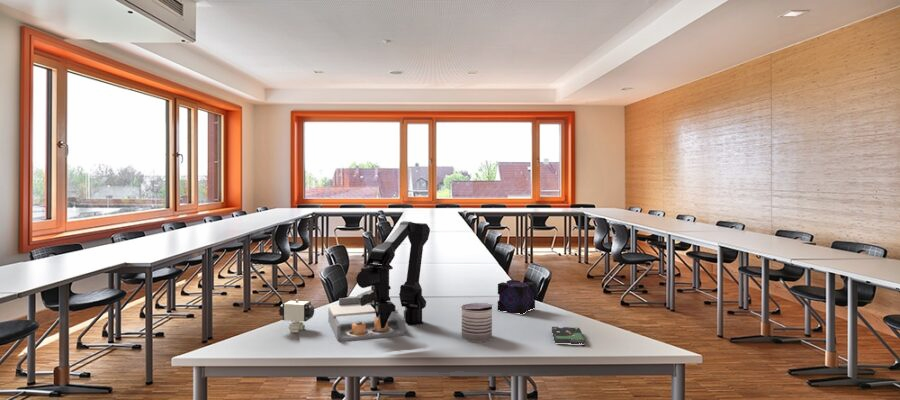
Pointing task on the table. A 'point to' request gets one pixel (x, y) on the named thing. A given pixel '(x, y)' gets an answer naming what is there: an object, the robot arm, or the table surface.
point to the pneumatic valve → (296, 313)
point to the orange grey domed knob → (359, 328)
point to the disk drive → (568, 335)
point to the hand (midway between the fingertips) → (381, 326)
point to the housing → (367, 328)
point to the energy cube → (516, 296)
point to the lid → (351, 307)
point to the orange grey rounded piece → (378, 326)
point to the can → (477, 322)
